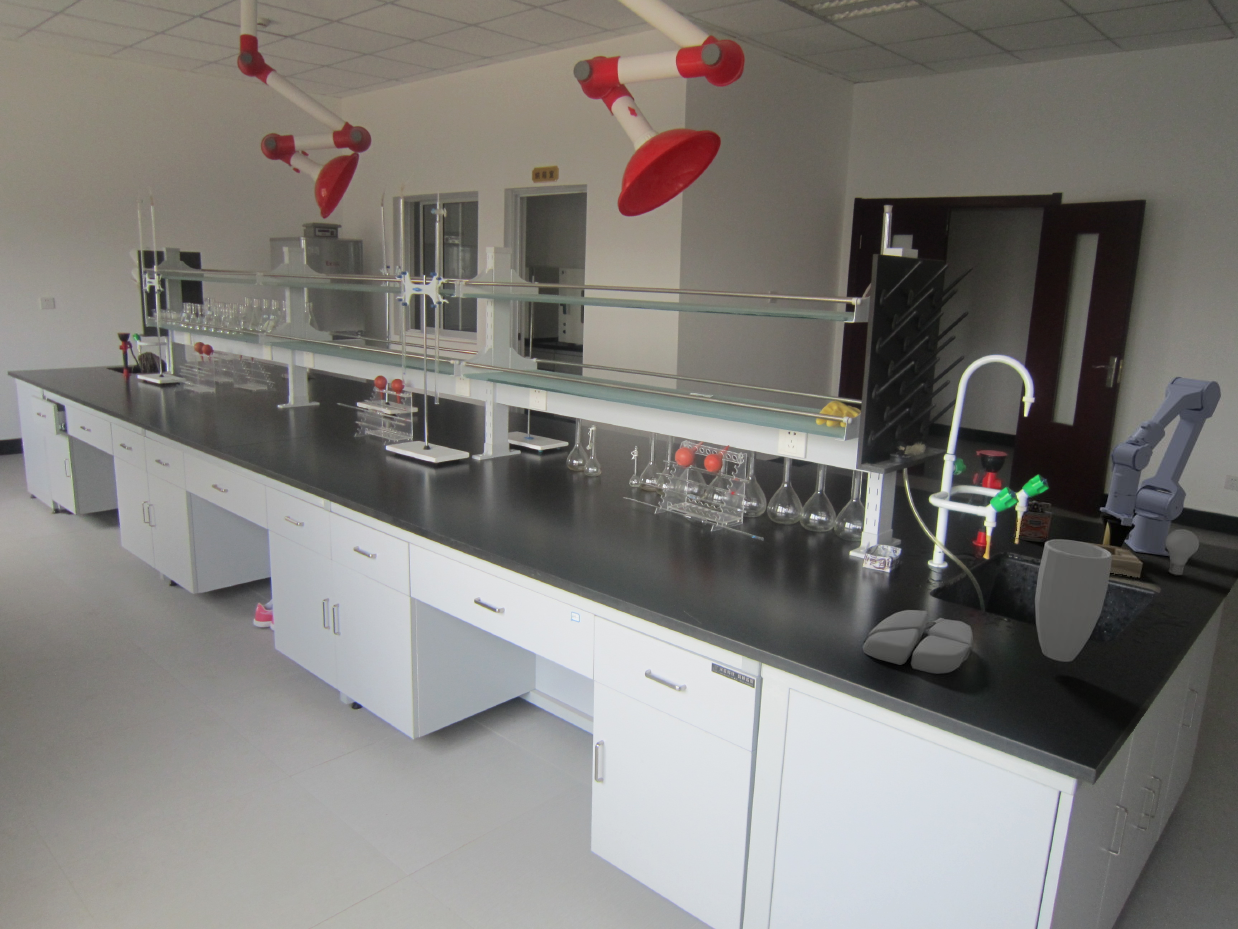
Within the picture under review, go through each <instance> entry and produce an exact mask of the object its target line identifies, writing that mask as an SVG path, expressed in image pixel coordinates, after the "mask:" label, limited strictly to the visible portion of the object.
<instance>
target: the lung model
mask: <svg viewBox="0 0 1238 929" xmlns="http://www.w3.org/2000/svg"><path fill="white" fill-rule="evenodd" d="M928 617H929V614H928V612H927V610H920V609H919V610H917V609H915V610H914V609H906V610H901V611H898V612H895V613H893V614H891V615H890V616H887V617H886V618H885V619H883V620H881V622H879V623H877V625H876V626H875V627H873V628H872V629H870V631H869V632H868V635H867V636H866V638H865V639H864V641H863V645H862V648H861V649H862V650H863V653H864V654H866V655H867V656H869V657H871V658H874V659H877V660H881V661H883V662H888V663H892V664H896V665H899V666H901V665H903V664H905V663H907V661H908V660H909V658H911V661H910V665H911V667H912V669H913V670H917V671H922V672H925V673H928V674H929V673H930V674H935V675H940V674H949V673H952V672H953V671H955V670H956V669H958V668H959V667H960V666H961V665H962V663H963V662H964V661H966V660H967V659H968V658H969V655H970V653H971V651H972V648H973V646H974V634H973V630H972V627H971V626H970V625H969V624H967V623H965V622H964V621H960V620H953V619H945V618H943V617H939V618H938V619H935V620H933V621H931V622H927V621H928ZM927 629H929V631H928V634H927V636H926V637H925V638H923V639H922V636H923V634H924V631H925V630H927ZM921 639H922V640H921ZM915 647H916V648H915Z"/></svg>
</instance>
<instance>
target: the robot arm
mask: <svg viewBox="0 0 1238 929" xmlns="http://www.w3.org/2000/svg"><path fill="white" fill-rule="evenodd" d="M1164 394H1165V396H1164V400H1163V401H1162V403H1161V404H1160V406H1159V407H1158V408H1157V410H1156V412H1155V413H1154V414H1153V416H1152V417H1151V419H1150V420H1144V421H1142V422H1141V423H1140V424H1139V425H1138V427H1137V428H1136V429H1135V430H1134V431H1133V432H1132V433H1131V435H1130V436H1129V437H1128V438H1127V439H1126V441H1125V442H1120V443H1118V444H1116V445H1115V446H1114V447H1113V449H1112V452H1111V453H1110V457H1109V459H1110V464H1111V468H1110V470H1111V472H1112V476H1111V480H1110V486H1109V490H1108V497H1107V501H1106V504H1105V507H1099V511H1101V513H1100V515H1099V516H1100V518H1101V521H1102V525H1103V526H1102V528H1103V537H1104V536H1105V531H1106V526H1107V522H1108V525H1109V530H1110V540H1109V546H1116V547H1123V544H1124V543H1126V545H1127V546H1128V547H1129V548H1130V549H1131V550H1133V552H1137V553H1141V554H1142V553H1143V554H1151V555H1157V556H1158V555H1159V556H1164V557H1165V556H1166V557H1170V554H1169V551H1168V550H1166V543H1165V542H1166V538H1167V536H1168V535H1169V531H1170V528H1171V522H1172V521H1173V520H1175V519H1177V518H1178V517H1179V516H1180V515H1181V514H1182V512H1183V509H1184V504H1185V503H1184V502H1185V499H1186V496H1187V493H1186V491H1185V489H1184V488H1183V487H1182V486H1181V484H1180V483H1179V482H1180V479H1181V477H1182V475H1183V472H1184V471H1185V468H1186V465H1187V463H1188V461H1189V459H1190V457H1191V455H1192V452H1193V450H1194V448H1195V446H1196V443H1197V441H1198V438H1199V437H1200V434H1201V432H1202V430H1203V427H1204V426H1205V423H1206V420H1207V419H1210V418H1212V417H1213V414H1214V413H1215V410H1216V408H1217V406H1218V405H1219V402H1220V399H1221V397H1222V393H1221V386H1220V384H1219V383H1218V381H1214V380H1211V381H1210V380H1209V381H1208V380H1201V379H1193V378H1189V377H1188V378H1187V377H1181V376H1175V377H1173V378H1171V380H1170V381H1169V382H1168V384H1167V386H1166V387H1165V393H1164ZM1178 416H1179V421H1178V423H1177V426H1176V428H1175V429H1174V431H1173V434H1172V437H1171V439H1170V441H1169V444H1168V445H1167V448H1166V450H1165V453H1164V454H1163V457H1162V459H1161V462H1160V463H1159V466H1158V469H1157V471H1156V472H1155V474H1154V475H1153V476H1151V477H1148V478H1146V479H1143V480H1142V481H1141V483H1140V480H1141V476H1142V471H1143V470H1144V469H1146V467H1148V465H1149V463H1150V460H1151V457H1152V455H1153V454H1154V452H1153V450H1154V449H1155V448H1156V447H1157V446H1158V445H1159V443H1160V442H1161V441H1162V440H1163V438H1165V436H1166V431H1165V429H1166V428H1167V427H1168V426H1169V424H1170V423H1171V422H1172V421H1174V420H1175V419H1176V418H1177V417H1178ZM1139 484H1140V485H1139ZM1134 510H1135V511H1134ZM1134 513H1135V514H1136V515H1135V514H1134ZM1134 515H1135V516H1134ZM1128 535H1129V536H1128ZM1127 537H1128V539H1126V538H1127Z"/></svg>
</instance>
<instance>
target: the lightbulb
mask: <svg viewBox="0 0 1238 929" xmlns="http://www.w3.org/2000/svg"><path fill="white" fill-rule="evenodd" d="M1165 543H1166V546H1165V548H1166V549H1167V552H1168V553H1169V554H1170V556H1169V561H1170V564H1169V569H1168V572H1169V573H1170V575H1172V576H1176V577H1178V576H1181V575H1183V573H1184V567H1185V565H1186V564H1187V563H1188V560H1189V559H1190V557H1191V556H1193V555H1194V554H1196V552H1197V551H1198V549H1199V546H1200V540H1199V538H1198V537H1197V535H1196V534H1195V533H1194V532H1192V531H1191V530H1188V529H1183V528H1181V529H1179V528H1178V529H1174V530H1173V531H1171V532H1170V533H1168V536H1167V538H1166V542H1165Z"/></svg>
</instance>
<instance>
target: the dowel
mask: <svg viewBox="0 0 1238 929" xmlns="http://www.w3.org/2000/svg"><path fill="white" fill-rule="evenodd" d="M1109 540H1110V530H1109V525H1108V522H1107V526H1106V531H1105V536H1104V535H1103V542H1102V545H1109Z"/></svg>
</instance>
